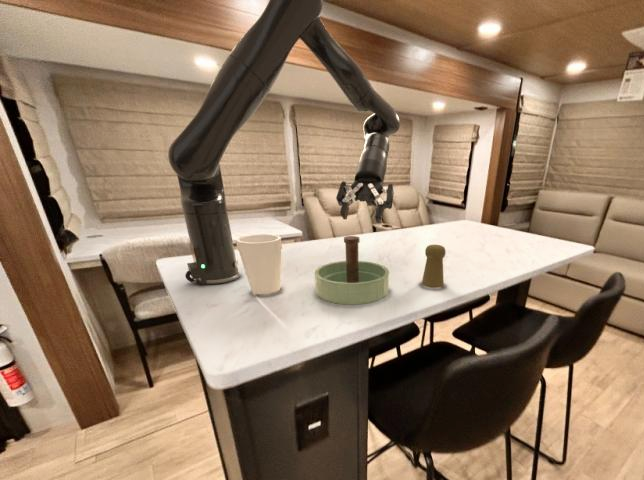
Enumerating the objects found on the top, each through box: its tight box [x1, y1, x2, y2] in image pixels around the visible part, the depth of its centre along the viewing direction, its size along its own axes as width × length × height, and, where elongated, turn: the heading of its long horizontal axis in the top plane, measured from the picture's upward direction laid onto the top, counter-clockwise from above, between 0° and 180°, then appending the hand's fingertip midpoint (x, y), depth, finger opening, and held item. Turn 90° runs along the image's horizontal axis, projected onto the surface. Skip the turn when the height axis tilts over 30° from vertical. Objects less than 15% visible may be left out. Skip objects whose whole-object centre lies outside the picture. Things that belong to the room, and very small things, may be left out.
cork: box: [421, 244, 446, 289], centre depth 81 cm, size 6×6×11 cm
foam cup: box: [235, 233, 283, 297], centre depth 72 cm, size 10×9×13 cm
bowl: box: [314, 260, 390, 306], centre depth 76 cm, size 18×18×6 cm
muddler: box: [343, 235, 361, 283], centre depth 74 cm, size 4×4×13 cm
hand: (360, 218), depth 77 cm, fingers open, 8 cm apart
